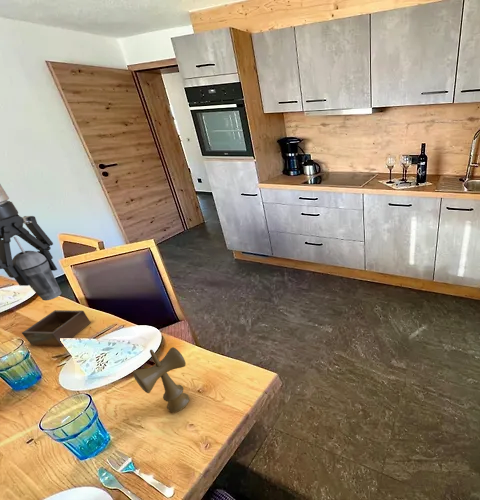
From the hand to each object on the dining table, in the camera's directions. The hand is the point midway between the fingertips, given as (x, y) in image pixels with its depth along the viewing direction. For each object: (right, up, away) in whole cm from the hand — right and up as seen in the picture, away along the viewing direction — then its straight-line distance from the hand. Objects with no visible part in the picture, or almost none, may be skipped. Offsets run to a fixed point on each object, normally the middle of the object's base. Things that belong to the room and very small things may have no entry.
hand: (39, 277), depth 86 cm
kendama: (+48, -32, -11) cm, 59 cm away
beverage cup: (0, -6, +3) cm, 7 cm away
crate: (-8, -21, +14) cm, 27 cm away
